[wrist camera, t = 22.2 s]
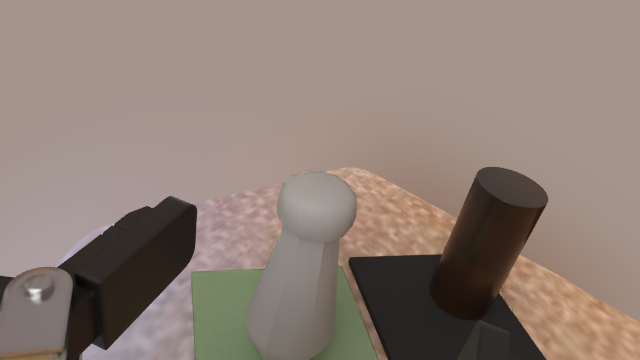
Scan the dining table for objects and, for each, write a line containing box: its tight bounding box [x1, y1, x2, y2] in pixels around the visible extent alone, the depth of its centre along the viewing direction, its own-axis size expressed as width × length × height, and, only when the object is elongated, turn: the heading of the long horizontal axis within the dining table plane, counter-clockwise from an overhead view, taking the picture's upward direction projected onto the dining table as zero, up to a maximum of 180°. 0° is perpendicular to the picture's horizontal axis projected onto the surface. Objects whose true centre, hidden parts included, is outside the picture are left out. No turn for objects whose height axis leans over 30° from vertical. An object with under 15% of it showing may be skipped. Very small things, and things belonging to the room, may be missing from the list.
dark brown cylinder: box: [429, 167, 548, 320], centre depth 37 cm, size 5×5×11 cm
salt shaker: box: [245, 171, 357, 360], centre depth 29 cm, size 6×6×13 cm
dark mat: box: [349, 254, 546, 360], centre depth 39 cm, size 12×12×1 cm
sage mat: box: [191, 266, 378, 360], centre depth 33 cm, size 12×14×1 cm
